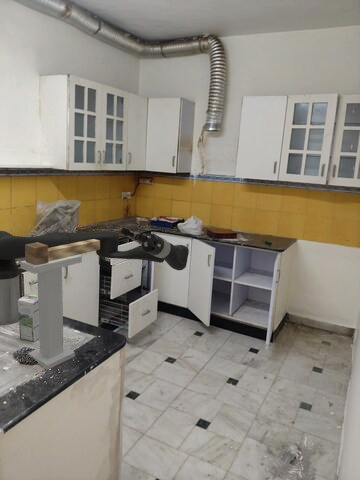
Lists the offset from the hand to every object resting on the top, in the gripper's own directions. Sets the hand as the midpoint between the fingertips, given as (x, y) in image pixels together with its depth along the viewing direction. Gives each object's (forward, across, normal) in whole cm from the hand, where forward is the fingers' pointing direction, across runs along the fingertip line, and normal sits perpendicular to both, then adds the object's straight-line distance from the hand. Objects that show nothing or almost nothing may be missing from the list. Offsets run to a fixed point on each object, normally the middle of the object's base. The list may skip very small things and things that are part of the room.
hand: (130, 232), depth 134 cm
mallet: (+21, +1, -15) cm, 25 cm away
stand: (+12, -1, -46) cm, 48 cm away
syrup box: (+9, +15, -46) cm, 49 cm away
